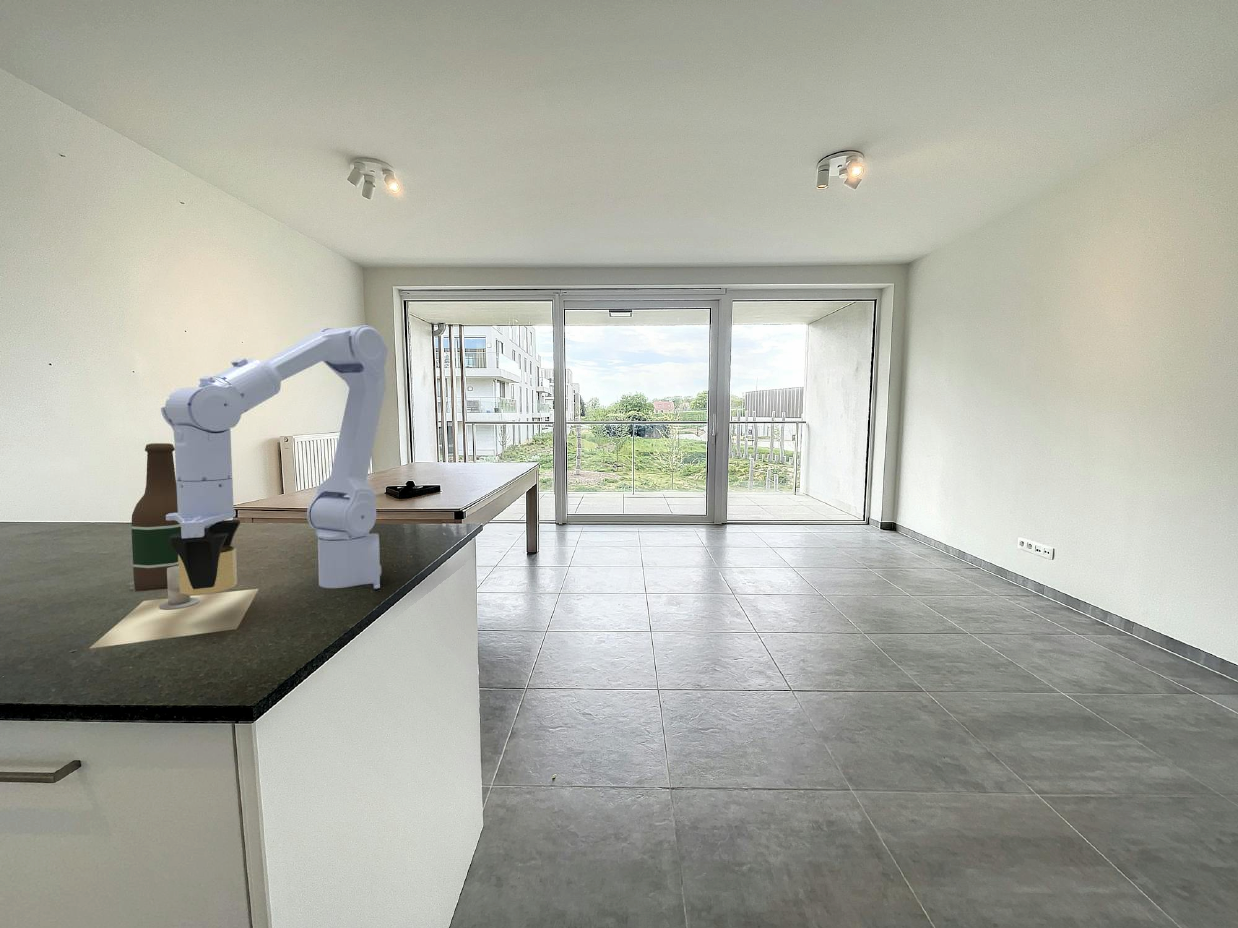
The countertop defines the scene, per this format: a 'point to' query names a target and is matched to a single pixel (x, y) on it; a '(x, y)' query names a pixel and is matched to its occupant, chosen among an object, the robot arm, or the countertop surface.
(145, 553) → the beer bottle
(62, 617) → the countertop surface
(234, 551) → the collar ring
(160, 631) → the board
